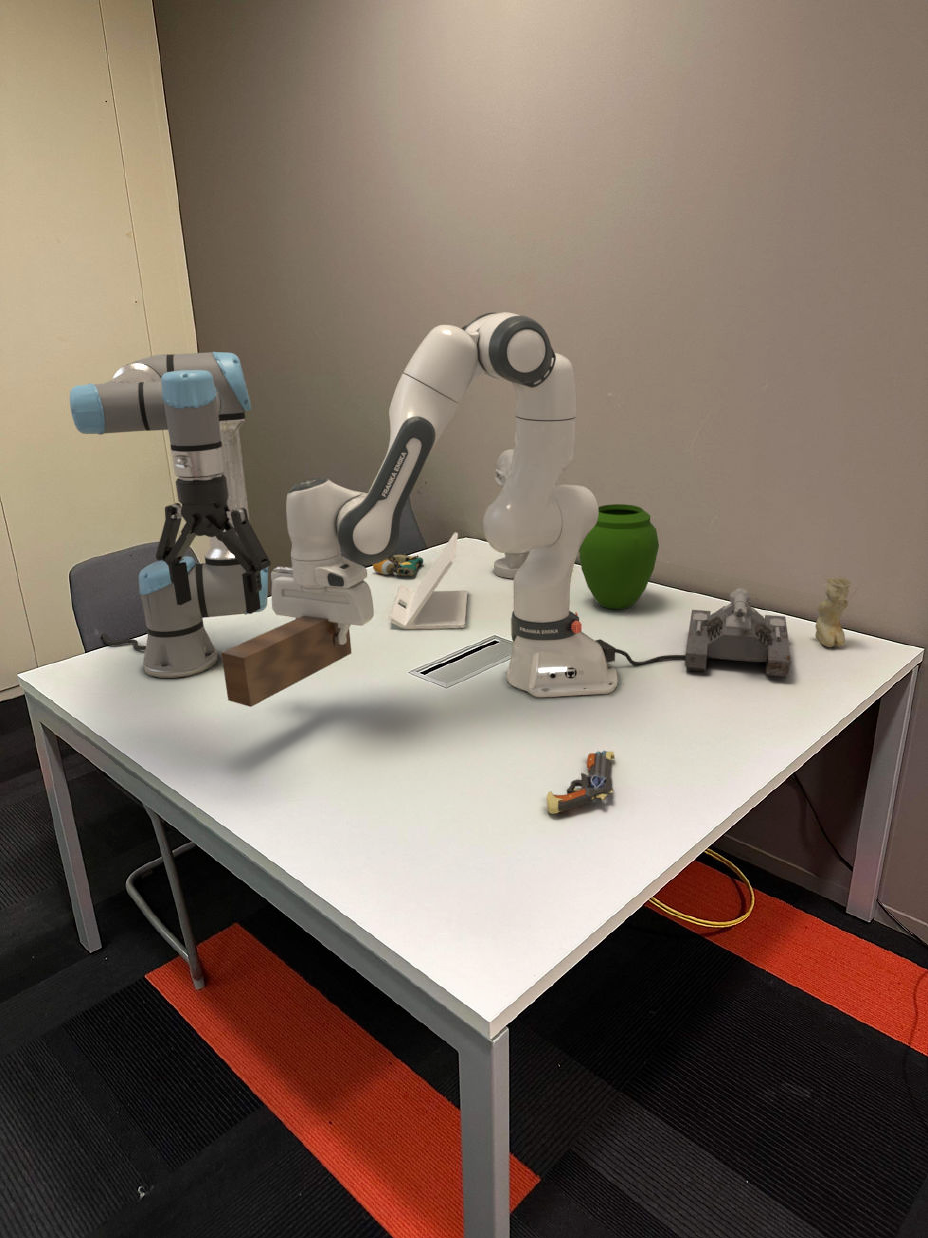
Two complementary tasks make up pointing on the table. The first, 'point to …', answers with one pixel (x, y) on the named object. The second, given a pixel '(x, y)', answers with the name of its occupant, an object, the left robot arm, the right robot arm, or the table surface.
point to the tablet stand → (431, 599)
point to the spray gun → (399, 565)
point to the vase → (619, 555)
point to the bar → (281, 658)
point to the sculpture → (832, 613)
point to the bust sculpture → (512, 560)
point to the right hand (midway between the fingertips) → (325, 641)
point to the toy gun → (586, 784)
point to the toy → (738, 637)
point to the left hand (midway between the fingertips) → (218, 606)
